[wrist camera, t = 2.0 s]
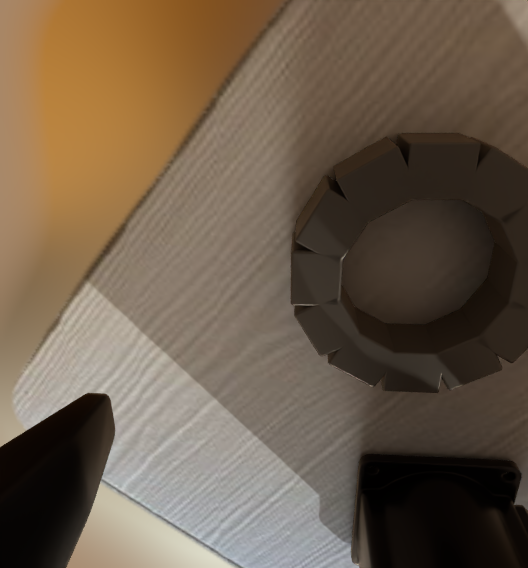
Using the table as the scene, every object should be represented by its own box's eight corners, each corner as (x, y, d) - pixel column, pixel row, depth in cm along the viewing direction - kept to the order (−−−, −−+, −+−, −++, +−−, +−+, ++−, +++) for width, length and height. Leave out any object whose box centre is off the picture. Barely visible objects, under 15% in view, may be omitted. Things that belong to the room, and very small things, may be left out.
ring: (291, 356, 19) (289, 388, 17) (293, 133, 15) (292, 142, 13) (513, 363, 18) (536, 397, 16) (569, 132, 15) (606, 142, 13)
